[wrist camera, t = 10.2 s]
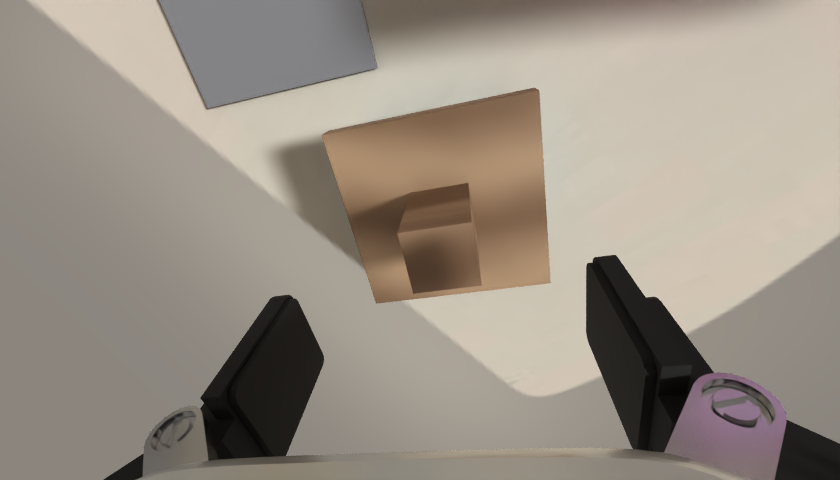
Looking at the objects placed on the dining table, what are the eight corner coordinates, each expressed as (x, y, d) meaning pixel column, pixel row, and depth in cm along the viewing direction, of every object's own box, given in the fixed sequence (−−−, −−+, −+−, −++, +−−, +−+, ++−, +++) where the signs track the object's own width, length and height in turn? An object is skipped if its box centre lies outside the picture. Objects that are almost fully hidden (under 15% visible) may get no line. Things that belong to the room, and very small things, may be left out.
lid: (328, 130, 20) (280, 161, 15) (534, 87, 18) (567, 104, 13) (379, 292, 25) (357, 361, 19) (546, 272, 23) (573, 342, 18)
